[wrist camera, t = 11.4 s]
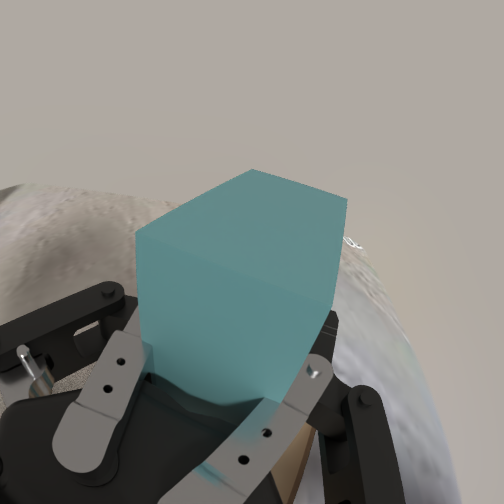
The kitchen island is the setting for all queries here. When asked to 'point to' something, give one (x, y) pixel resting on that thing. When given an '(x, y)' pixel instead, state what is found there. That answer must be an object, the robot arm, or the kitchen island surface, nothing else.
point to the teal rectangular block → (238, 290)
